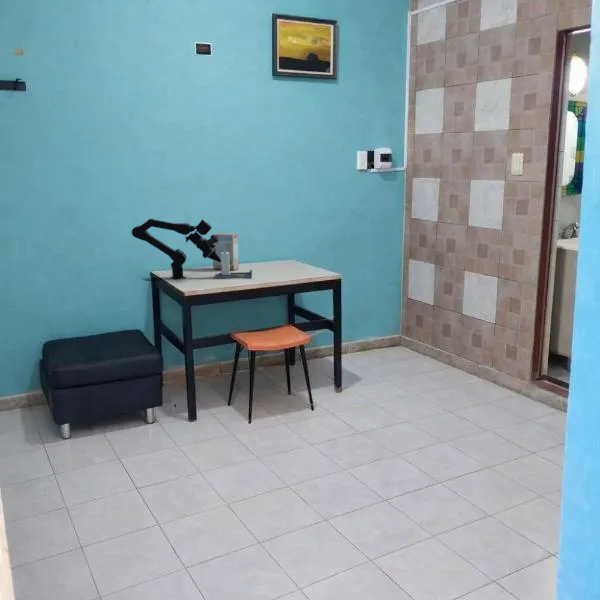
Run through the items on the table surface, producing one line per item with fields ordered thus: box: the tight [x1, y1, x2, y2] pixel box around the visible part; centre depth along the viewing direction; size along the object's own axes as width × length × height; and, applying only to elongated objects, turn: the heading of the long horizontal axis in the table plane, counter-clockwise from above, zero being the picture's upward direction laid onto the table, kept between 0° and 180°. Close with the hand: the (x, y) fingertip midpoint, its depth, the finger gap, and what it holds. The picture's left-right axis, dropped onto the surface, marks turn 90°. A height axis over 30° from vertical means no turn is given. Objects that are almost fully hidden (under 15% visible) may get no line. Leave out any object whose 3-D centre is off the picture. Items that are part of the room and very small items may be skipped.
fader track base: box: [213, 269, 253, 280], centre depth 353 cm, size 20×10×3 cm, turn 93°
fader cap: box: [221, 251, 231, 275], centre depth 351 cm, size 4×5×13 cm
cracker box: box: [211, 232, 239, 271], centre depth 376 cm, size 14×6×21 cm, turn 65°
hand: (220, 261), depth 351 cm, fingers closed
